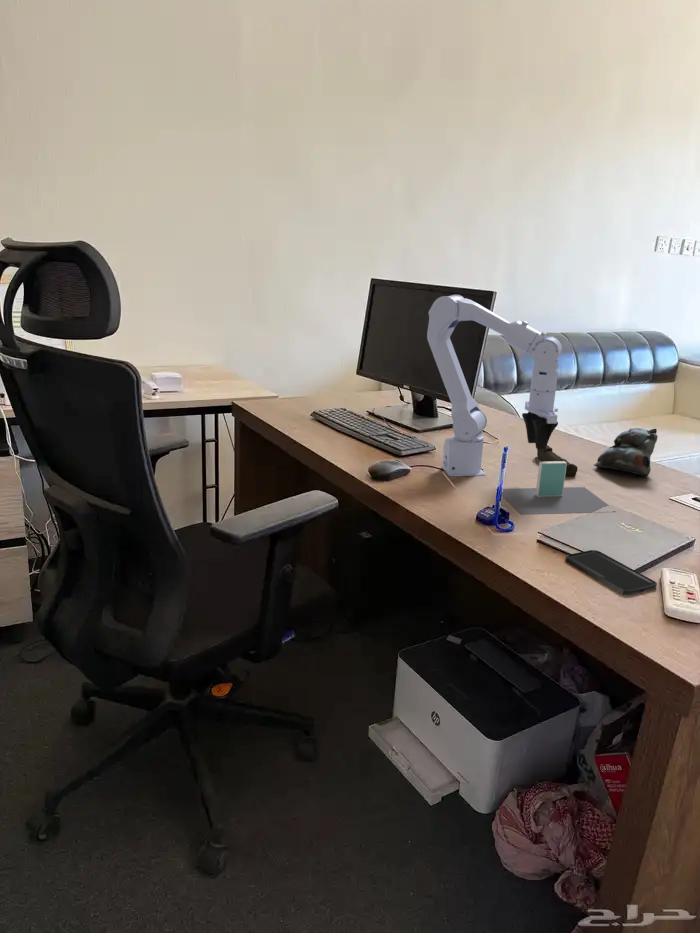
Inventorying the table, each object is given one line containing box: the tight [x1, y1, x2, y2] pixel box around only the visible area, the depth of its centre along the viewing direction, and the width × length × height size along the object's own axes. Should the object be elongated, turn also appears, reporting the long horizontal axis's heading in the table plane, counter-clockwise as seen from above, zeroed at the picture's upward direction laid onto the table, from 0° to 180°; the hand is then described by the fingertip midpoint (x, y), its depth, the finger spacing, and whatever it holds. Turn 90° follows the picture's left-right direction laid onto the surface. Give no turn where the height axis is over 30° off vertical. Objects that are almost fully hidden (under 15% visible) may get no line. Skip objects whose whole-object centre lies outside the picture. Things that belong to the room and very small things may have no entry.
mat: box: [495, 486, 610, 516], centre depth 153 cm, size 22×16×1 cm
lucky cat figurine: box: [593, 427, 658, 478], centre depth 174 cm, size 15×12×14 cm
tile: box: [535, 461, 567, 497], centre depth 154 cm, size 6×1×8 cm, turn 97°
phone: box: [565, 549, 658, 596], centre depth 119 cm, size 8×1×15 cm
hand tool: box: [536, 444, 578, 478], centre depth 177 cm, size 19×4×5 cm, turn 7°
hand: (536, 445), depth 162 cm, fingers open, 4 cm apart
